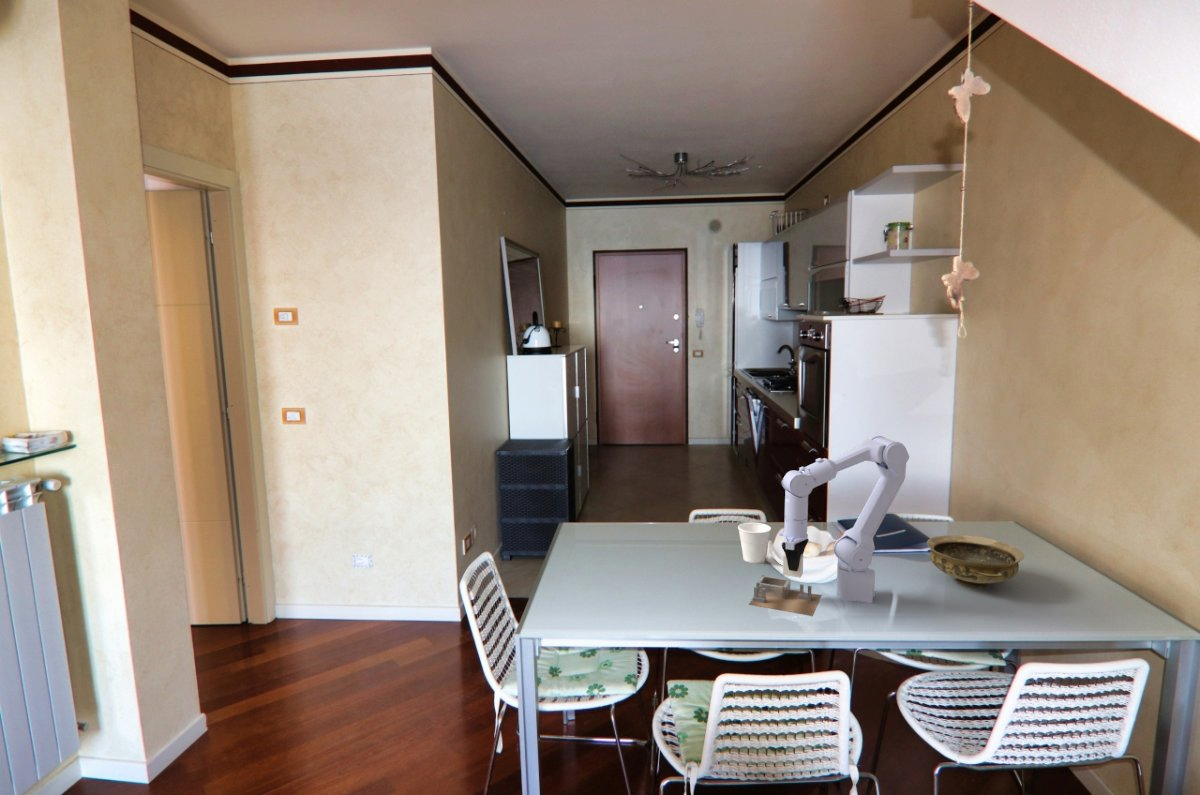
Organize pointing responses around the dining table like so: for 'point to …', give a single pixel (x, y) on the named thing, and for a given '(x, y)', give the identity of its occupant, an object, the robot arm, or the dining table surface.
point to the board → (791, 603)
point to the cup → (754, 541)
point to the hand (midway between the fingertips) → (794, 568)
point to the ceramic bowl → (974, 559)
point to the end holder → (774, 586)
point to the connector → (792, 573)
